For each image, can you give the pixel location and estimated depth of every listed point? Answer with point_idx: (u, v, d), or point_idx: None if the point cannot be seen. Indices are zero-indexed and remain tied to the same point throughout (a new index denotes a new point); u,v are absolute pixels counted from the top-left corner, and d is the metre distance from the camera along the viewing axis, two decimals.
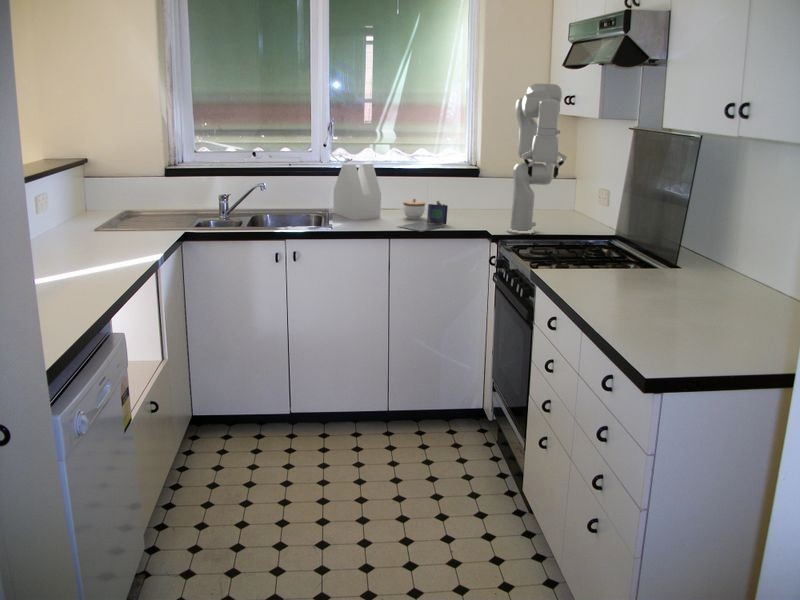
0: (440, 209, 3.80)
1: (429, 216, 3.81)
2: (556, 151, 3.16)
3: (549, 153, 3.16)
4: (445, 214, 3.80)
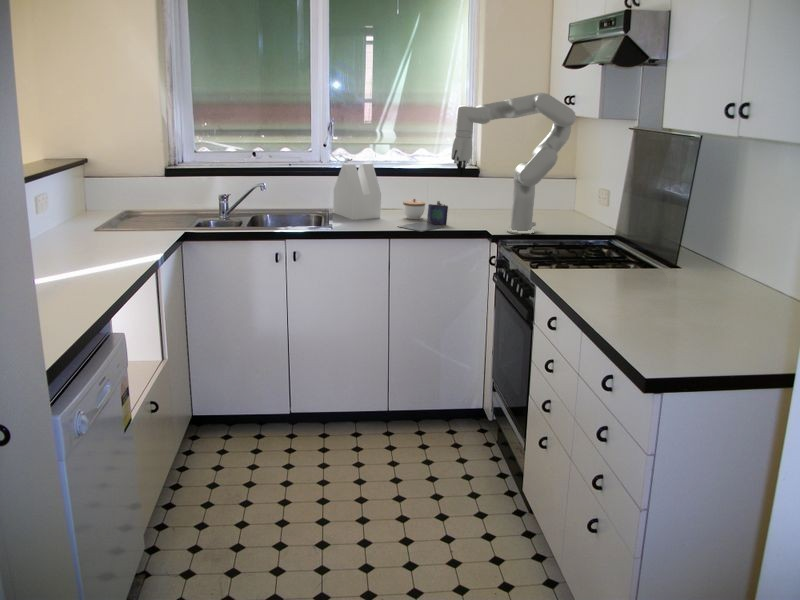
0: (440, 210, 3.80)
1: (429, 216, 3.81)
2: (471, 150, 3.63)
3: (468, 152, 3.61)
4: (445, 215, 3.80)
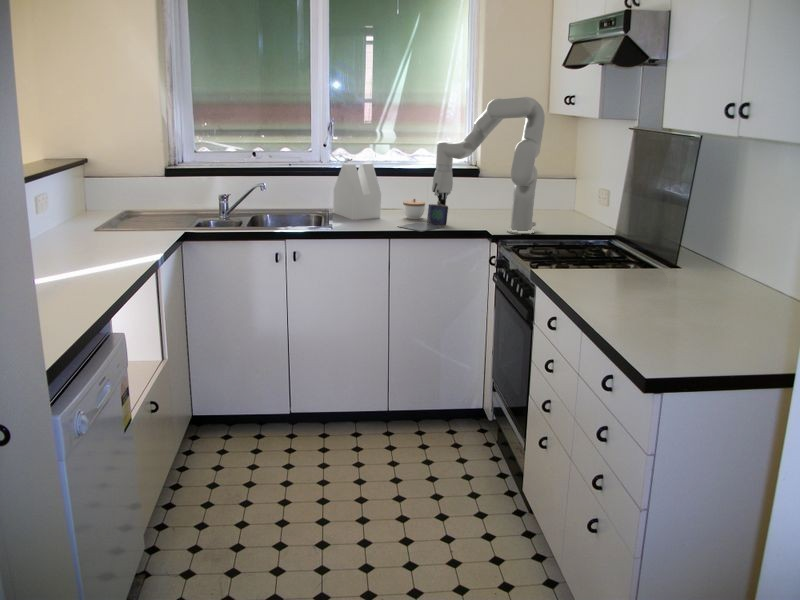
0: (440, 210, 3.79)
1: (429, 216, 3.80)
2: (452, 182, 3.81)
3: (449, 185, 3.79)
4: (445, 215, 3.80)
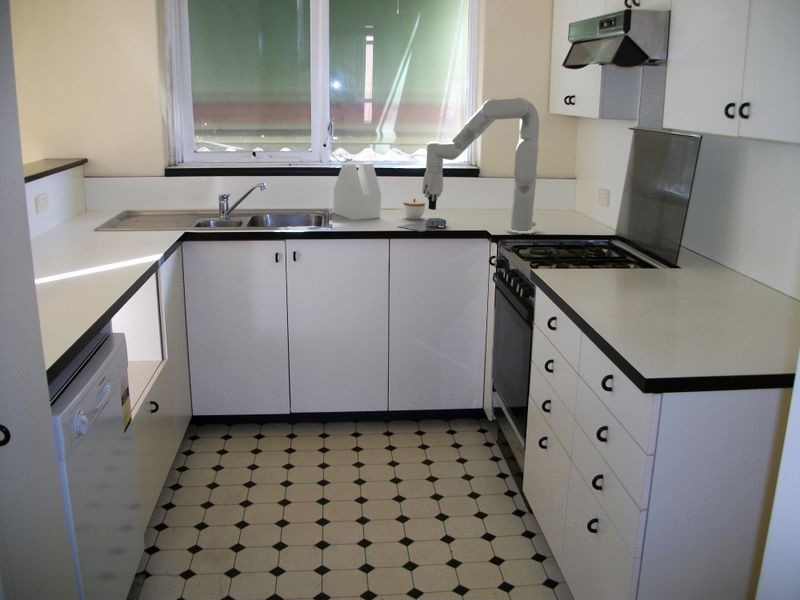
0: None
1: None
2: (442, 184, 3.76)
3: (439, 186, 3.74)
4: None
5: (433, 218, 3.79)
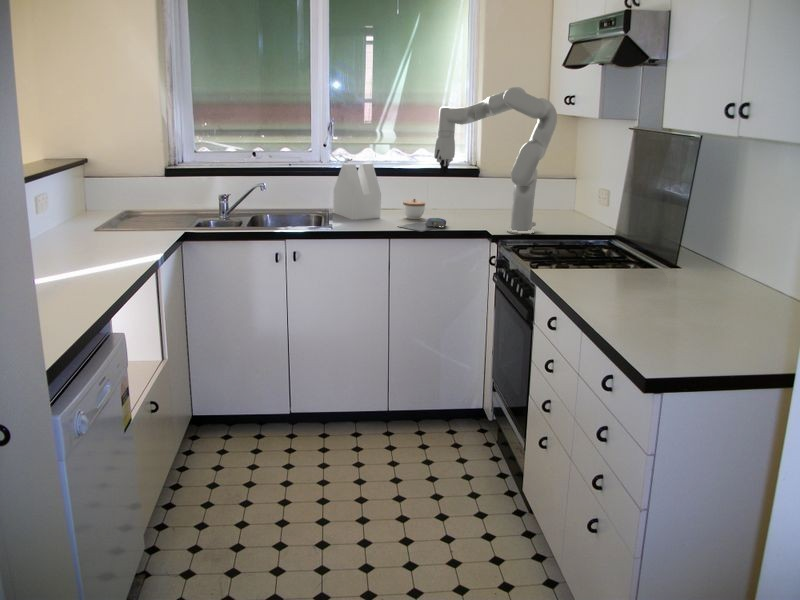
0: None
1: None
2: (454, 149, 3.77)
3: (451, 151, 3.75)
4: None
5: (433, 218, 3.79)
